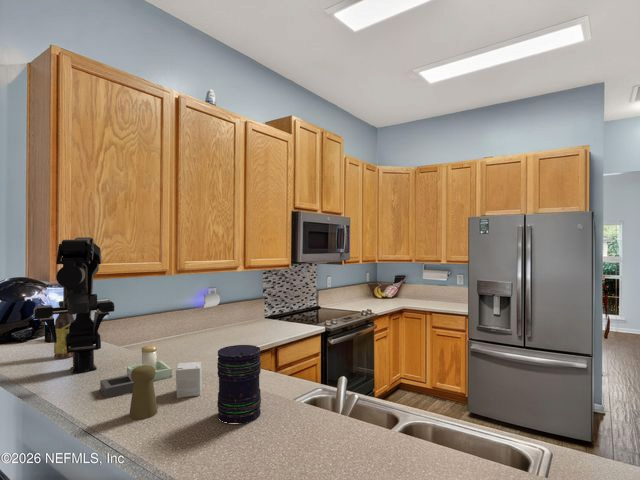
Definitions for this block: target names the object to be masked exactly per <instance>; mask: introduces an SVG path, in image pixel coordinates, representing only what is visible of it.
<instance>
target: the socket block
mask: <svg viewBox="0 0 640 480" xmlns="http://www.w3.org/2000/svg"><path fill="white" fill-rule="evenodd" d="M99 384H100V385H99V386H100V387H99V389H100V391H101V393H102V395H103V396H104V397H105V399H109V398H115V397H118V396H122V395H127V394H132V391H133V384H134V382H133V381H132V379H131V374H130V375H127V374H125V375H120V376H115V377H111V378H110V377H109V378H105V379H100V382H99Z"/></svg>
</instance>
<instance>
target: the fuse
mask: <svg viewBox="0 0 640 480" xmlns="http://www.w3.org/2000/svg"><path fill="white" fill-rule="evenodd" d="M157 347H158V346H157V345H144V346H143V347H141V364H142V366H143V365H150V366H153V367H154V369H155V371H157V369H156V361H157V350H158V348H157Z"/></svg>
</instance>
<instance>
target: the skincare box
mask: <svg viewBox="0 0 640 480" xmlns="http://www.w3.org/2000/svg"><path fill="white" fill-rule="evenodd" d="M202 378H203V377H202V361H192V362H181V363H180V362H179V363H178V365H177V368H176V370H175V381H176V382H175V384H176V385H175V386H176V398H177V399H179V398H188V397H189V398H190V397H196V396H197V397H198V396H201V393H202V386H203V385H202V384H203V383H202Z"/></svg>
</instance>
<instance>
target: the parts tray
mask: <svg viewBox="0 0 640 480" xmlns="http://www.w3.org/2000/svg"><path fill="white" fill-rule="evenodd" d="M139 366H142V363H139V364H132V365H129V366H126V375H130V374H131V373H132V371H133V369H134V368H136V367H139ZM156 369H157V371H155V377H154V379H153V382H156V381H160V380H165V379H169V378H172V377H173V368H172V367H171V366H170V365H168V364H166V363H165V361H163V360H161V359H160V360H156Z"/></svg>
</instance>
